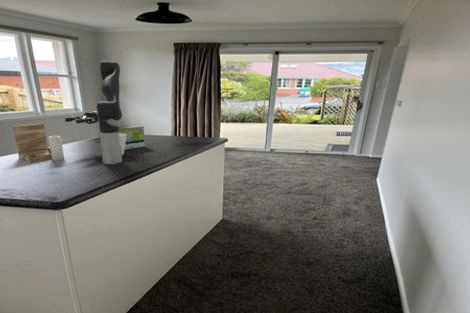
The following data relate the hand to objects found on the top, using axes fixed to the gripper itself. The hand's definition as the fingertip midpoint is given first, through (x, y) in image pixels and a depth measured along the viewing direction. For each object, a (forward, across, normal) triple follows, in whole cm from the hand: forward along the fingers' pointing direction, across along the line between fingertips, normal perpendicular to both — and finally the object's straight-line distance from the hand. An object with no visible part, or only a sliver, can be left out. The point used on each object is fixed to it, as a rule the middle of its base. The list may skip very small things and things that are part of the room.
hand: (71, 120), depth 144 cm
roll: (+11, 0, +20) cm, 23 cm away
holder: (+13, -12, +20) cm, 27 cm away
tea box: (-31, +15, +22) cm, 40 cm away
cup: (-11, +21, +21) cm, 32 cm away
